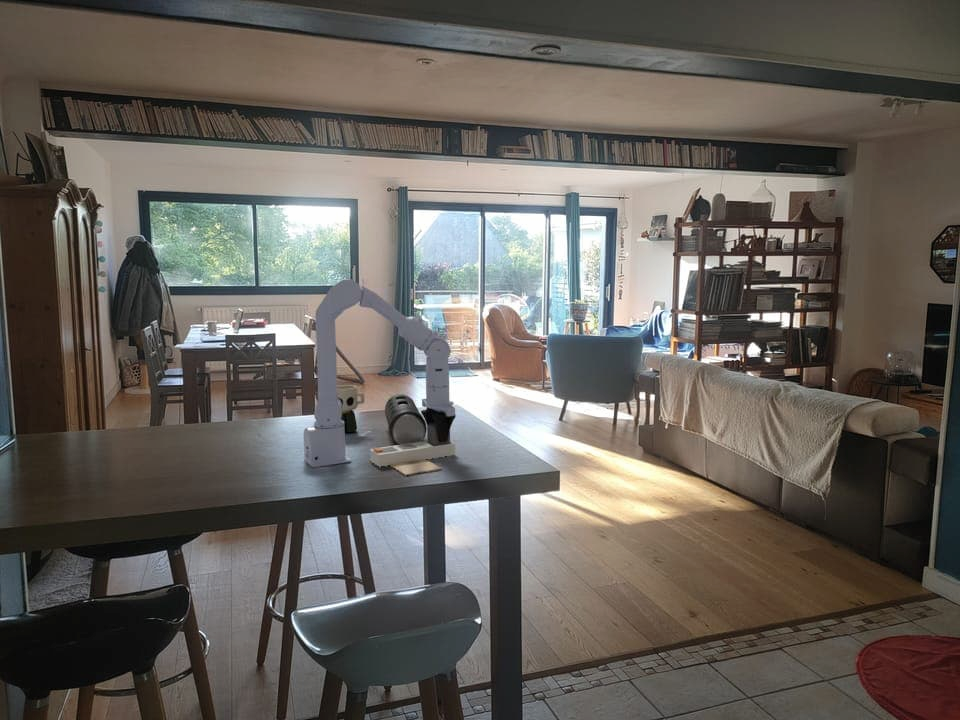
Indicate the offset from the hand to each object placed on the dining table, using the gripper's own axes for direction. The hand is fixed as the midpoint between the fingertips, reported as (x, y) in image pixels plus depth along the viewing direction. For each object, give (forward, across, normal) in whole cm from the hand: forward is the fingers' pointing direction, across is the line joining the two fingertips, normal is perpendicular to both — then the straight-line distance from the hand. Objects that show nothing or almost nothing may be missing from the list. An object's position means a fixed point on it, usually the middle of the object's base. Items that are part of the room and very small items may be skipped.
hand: (438, 439), depth 170 cm
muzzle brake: (+4, +19, +1) cm, 19 cm away
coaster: (+4, -8, +10) cm, 13 cm away
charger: (+2, 0, 0) cm, 2 cm away
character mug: (+4, +36, +12) cm, 38 cm away
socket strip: (+4, 0, +7) cm, 8 cm away
